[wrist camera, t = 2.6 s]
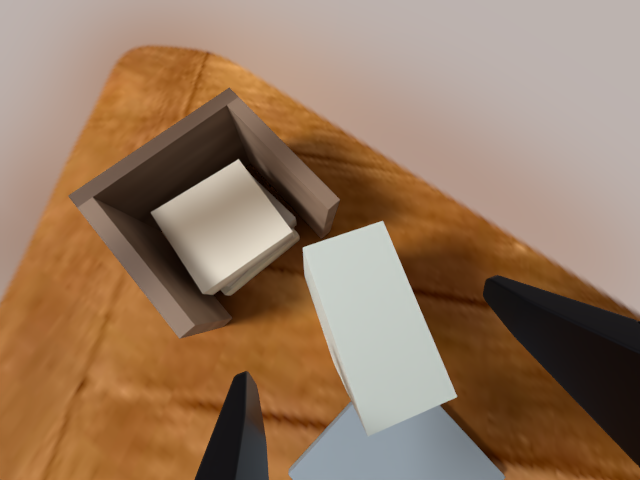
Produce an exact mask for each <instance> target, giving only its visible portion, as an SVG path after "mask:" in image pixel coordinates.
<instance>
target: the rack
mask: <svg viewBox="0 0 640 480" xmlns="http://www.w3.org/2000/svg"><path fill="white" fill-rule="evenodd" d="M238 159H239V160H240V162H241V163H242V164H243V166H244V167H246V166H247V165H248V164H251V165H252V166H253V167H254V168H255V169H256V170H257V171H258V172H259V173H260V174H261V175H262V176H263V177H264V178H265V180H266V181H267V182H268V183H269V184H270V185H271V186H272V187H273V188H274V189H275V190H276V191H277V192H278V193H279V194H280V195H281V196H282V198H283V199H284V200H285V201H286V202H287V203H288V204H289V205H290V206H291V207H292V208H293V209H294V210H295V211H296V212H297V213H298V214H299V216H300V217H301V218H302V219H303V220H304V221H305V222H306V223H307V224H308V225H309V226H310V227H311V228H312V229H313V230H314V231H315V232H316V234H317V235H318V236H319V237H320V238H321V239H322V238H323V237H324V236H325V235H327V234H328V233H329V232H330V229H331V226H332V223H333V220H334V217H335V214H336V211H337V208H338V204H339V201H340V199H339V198H338V197H337V196H336V195H335V194H334V193H333V192H332V191H331V190H330V189H329V188H328V187H327V186H326V185H325V184H324V183H323V182H322V181H321V180H320V179H319V178H318V177H317V176H316V175H315V174H314V173H313V172H312V171H311V170H310V169H309V168H308V167H307V166H306V165H305V164H304V163H303V162H302V161H301V160H300V159H299V158H298V157H297V156H296V155H295V154H294V153H293V152H292V151H291V150H290V148H289V147H288V146H287V145H286V144H285V143H284V142H283V141H282V140H281V139H280V138H279V137H278V136H277V135H276V134H275V133H274V132H273V131H272V130H271V129H270V128H269V127H268V126H267V125H266V124H265V123H264V122H263V121H262V120H261V119H260V118H259V117H258V116H257V115H256V114H255V113H254V112H253V111H252V110H251V109H250V108H249V107H248V106H247V105H246V104H245V103H244V102H243V101H242V100H241V99H240V98H239V97H238V96H237V95H236V94H235V93H234V92H233V91H232V90H231V89H230V88H228V89H227V90H225V91H224V92H222V93H221V94H219V95H218V96H216V97H215V98H213V99H212V100H210V101H209V102H207V103H206V104H204V105H203V106H201V107H200V108H198V109H197V110H195V111H194V112H192V113H191V114H189V115H188V116H186V117H185V118H183V119H182V120H180V121H179V122H177V123H176V124H174V125H173V126H171V127H170V128H168V129H167V130H165V131H164V132H162V133H161V134H160V135H158V136H157V137H155V138H154V139H152V140H151V141H149V142H148V143H146V144H145V145H143V146H142V147H140V148H139V149H137V150H136V151H134V152H133V153H131V154H130V155H128V156H127V157H125V158H124V159H122V160H121V161H119V162H118V163H116V164H115V165H113V166H112V167H110V168H109V169H107V170H106V171H104V172H103V173H101V174H100V175H98V176H97V177H95V178H94V179H92V180H91V181H89V182H88V183H86V184H85V185H84V186H82V187H81V188H79V189H78V190H76V191H75V192H73V193H72V194H70V195H69V198H70V199H71V200H72V202H73V203H74V204H75V205H76V207H77V208H78V209H79V210H80V212H81V213H82V214H83V216H84V217H85V218H86V219H87V221H88V222H89V223H90V225H91V226H92V227H93V228H94V230H95V231H96V232H97V234H98V235H99V236H100V237H101V239H102V240H103V241H104V242H105V244H106V245H107V246H108V248H109V249H110V250H111V251H112V253H113V254H114V255H115V257H116V258H117V259H118V260H119V262H120V263H121V264H122V266H123V267H124V268H125V269H126V271H127V272H128V273H129V275H130V276H131V277H132V278H133V280H134V281H135V282H136V283H137V285H138V286H139V287H140V289H141V290H142V291H143V292H144V294H145V295H146V296H147V298H148V299H149V300H150V301H151V303H152V304H153V305H154V307H155V308H156V309H157V310H158V312H159V313H160V314H161V315H162V317H163V318H164V319H165V321H166V322H167V323H168V324H169V326H170V327H171V328H172V330H173V331H174V332H175V333H176V335H177V336H178V337H179V339H180V338H184V337H188V336H191V335H195V334H199V333H202V332H206V331H210V330H213V329H217V328H221V327H223V326H224V325H226V324H227V323H228V322H229V321H230V320H231V319H232V317H231V316H230V314H229V313H228V312H227V311H226V310H225V308H224V307H223V306H222V305H221V304H220V302H219V301H218V300H217V299H216V298H215V296H214V295H209V294H202V292H201V290H200V289H199V287H198V286H197V284H196V283H195V281H194V280H193V278H192V276H191V275H190V273H189V272H188V270H187V269H186V267H185V266H184V264H183V262H182V261H181V259H180V258H179V256H178V255H177V253H176V251H175V250H174V248H173V247H172V245H171V244H170V242H169V241H168V240H167V239H166V237H165V236H164V235H163V234H162V232H161V228H160V227H159V225H158V223H157V222H156V220H155V219H154V217H153V216H152V214H151V213H150V212H152V211H154V210H155V209H157V208H159V207H160V206H162V205H164V204H165V203H167V202H169V201H170V200H172V199H174V198H175V197H177V196H179V195H180V194H182V193H184V192H185V191H187V190H189V189H190V188H192V187H194V186H195V185H197V184H198V183H200V182H202V181H203V180H205V179H207V178H208V177H210V176H212V175H213V174H215V173H217V172H218V171H220V170H222V169H223V168H225V167H227V166H228V165H230V164H232V163H233V162H235V161H237V160H238Z"/></svg>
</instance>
